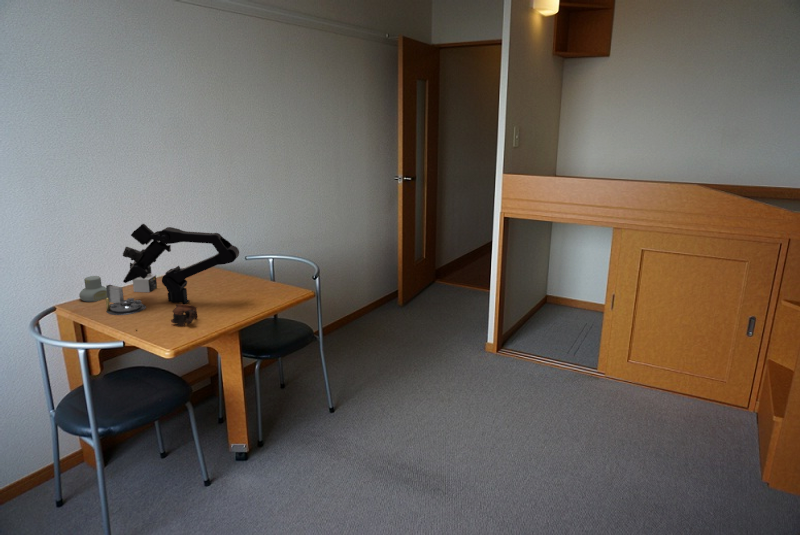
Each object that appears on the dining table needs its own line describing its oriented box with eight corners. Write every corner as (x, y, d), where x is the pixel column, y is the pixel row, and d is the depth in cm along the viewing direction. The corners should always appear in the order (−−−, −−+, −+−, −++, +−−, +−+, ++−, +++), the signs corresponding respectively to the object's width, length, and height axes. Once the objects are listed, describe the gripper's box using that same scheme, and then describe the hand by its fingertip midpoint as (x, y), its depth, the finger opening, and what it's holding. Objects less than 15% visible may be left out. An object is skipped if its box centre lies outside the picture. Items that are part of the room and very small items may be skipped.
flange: (153, 306, 224) (151, 292, 223) (133, 319, 211) (132, 303, 209) (119, 305, 226) (117, 290, 224) (97, 317, 212) (95, 301, 210)
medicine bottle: (150, 294, 239) (147, 268, 236) (133, 294, 239) (130, 267, 236) (157, 289, 246) (154, 263, 242) (141, 289, 246) (138, 263, 243)
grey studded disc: (148, 306, 220) (145, 286, 218) (124, 314, 211) (121, 294, 209) (122, 300, 226) (119, 281, 224) (98, 308, 216) (95, 288, 214)
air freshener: (101, 295, 237) (98, 273, 234) (113, 299, 233) (111, 276, 230) (76, 302, 227) (73, 279, 225) (89, 306, 224) (85, 282, 221)
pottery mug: (164, 325, 207) (169, 303, 209) (187, 330, 214) (191, 308, 216) (181, 324, 199) (186, 302, 201) (204, 329, 206) (209, 307, 208)
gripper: (134, 235, 226) (107, 263, 224) (134, 245, 210) (105, 275, 208) (157, 252, 231) (130, 280, 230) (159, 263, 215) (130, 293, 213)
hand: (124, 282), depth 220 cm, fingers closed
